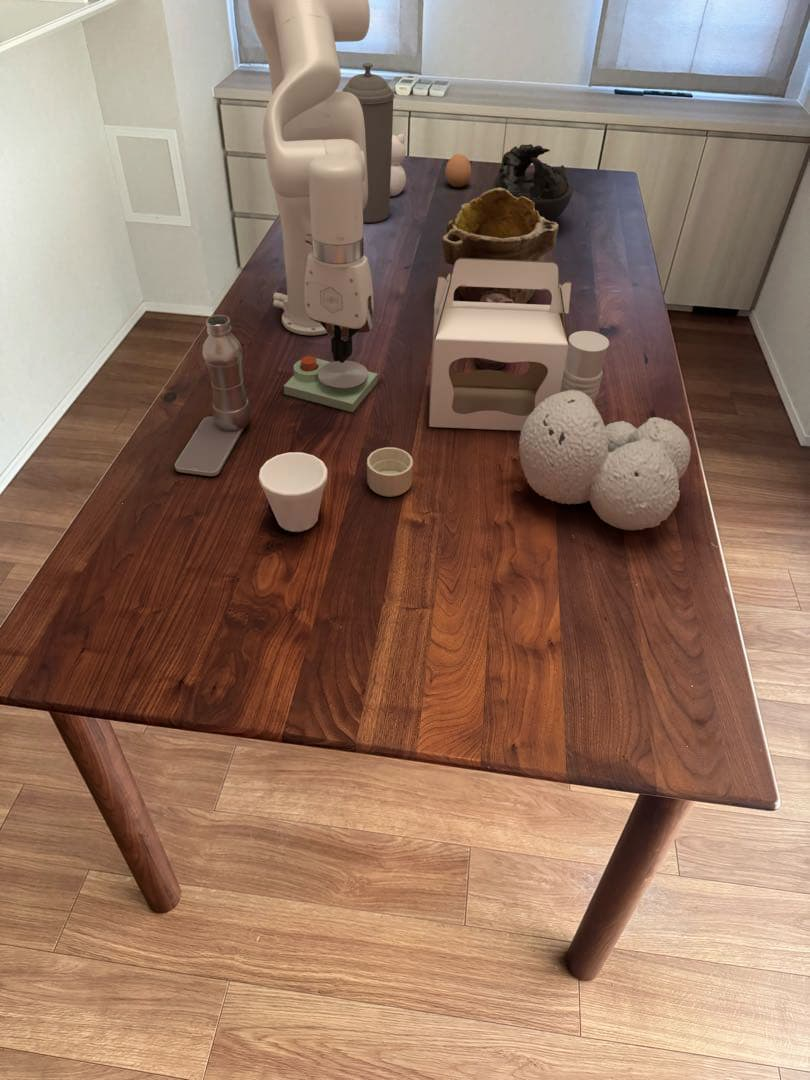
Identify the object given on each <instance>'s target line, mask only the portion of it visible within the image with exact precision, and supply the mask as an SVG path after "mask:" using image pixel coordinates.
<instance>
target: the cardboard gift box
mask: <svg viewBox="0 0 810 1080" xmlns="http://www.w3.org/2000/svg"><path fill="white" fill-rule="evenodd" d="M459 286H462V287H465V286H472V287H496V288H520V289H535V290H541V291H546V290H548V291H549V293H550V295H551V298H550V304H537V303H536V304H535V303H526V304H513V303H489V302H466V301H465V300H463V301H462V300H461V301H460V300H454V295H455V291H456V290H457V287H459ZM571 289H572V281H564V282H563V283H561V279H560V277H559V266H558V264H557V262H555V261H544V260H539V261H524V260H500V259H475V258H459V259H457V260H456V261H455V264H454V265H453V269H452V272H451V273H448V274H447V277H446V276H442V275H438V276H437V282H436V289H435V294H434V295H435V296H434V303H433V309H434V310H433V325H432V326H433V327H432V343H431V344H432V346H431V362H430V378H429V379H430V381H429V410H428V411H429V417H428V419H429V420H428V424H429V425H428V427H430V428H443V429H444V428H449V429H470V430H490V431H491V430H492V431H494V430H495V431H515V432H516V431H518V432H521V431H522V428H523V426H524V423H525V421H526V420H527V418H528V416H529V415H530V414H531V413H532V412H533V410H534V409H535V408H536V407H537V406H538V405H539V404H540V403H541V402H543V401H544V400H545V398H548V397H549V396H552V395H554V394H557V393H560V389H561V384H562V379H563V374H564V368H565V363H566V359H567V354H568V349H569V334H568V328H567V327H568V326H567V320H566V314H569V313H570V302H571V301H570V300H571ZM467 358H474V359H475V358H483V359H489V360H494V361H499V362H506V363H520V362H521V363H522V362H525V363H526V362H529V366H528V370H527V372H525V373H523V374H520V375H519V374H517V375H516V374H512V373H508V372H506V371H502V370H483V369H480V370H474V371H473V370H472V371H467V372H464V371H463V372H461V371H458V370H455V369H454V368H453V362H455V361H457V360H460V359H467Z"/></svg>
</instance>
